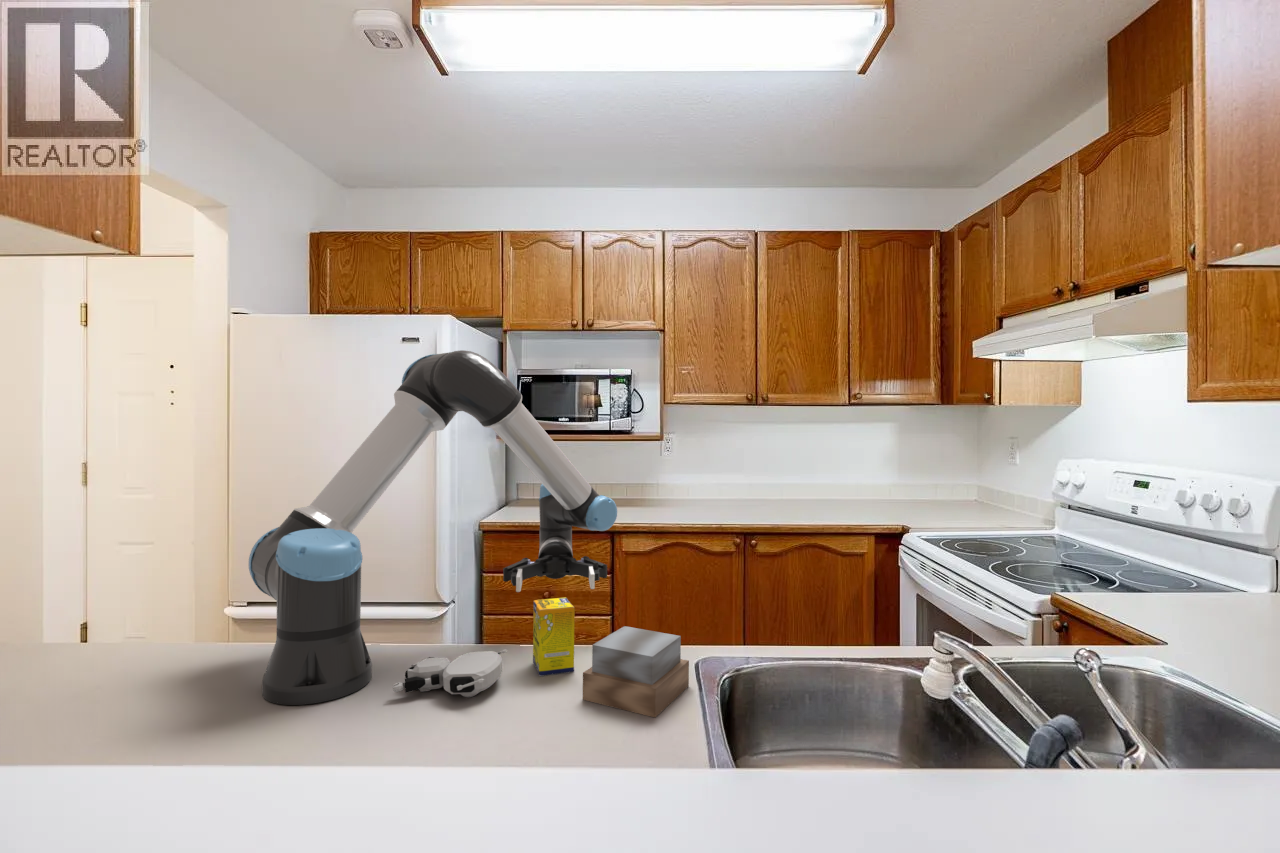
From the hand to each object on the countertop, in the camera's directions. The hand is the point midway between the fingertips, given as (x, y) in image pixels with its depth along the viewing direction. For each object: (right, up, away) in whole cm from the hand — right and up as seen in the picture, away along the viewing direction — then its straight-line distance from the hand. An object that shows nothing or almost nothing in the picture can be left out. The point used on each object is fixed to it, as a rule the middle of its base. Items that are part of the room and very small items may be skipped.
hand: (555, 583), depth 114 cm
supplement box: (+1, -12, -10) cm, 16 cm away
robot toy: (-14, -12, -18) cm, 26 cm away
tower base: (+15, -12, -20) cm, 27 cm away
